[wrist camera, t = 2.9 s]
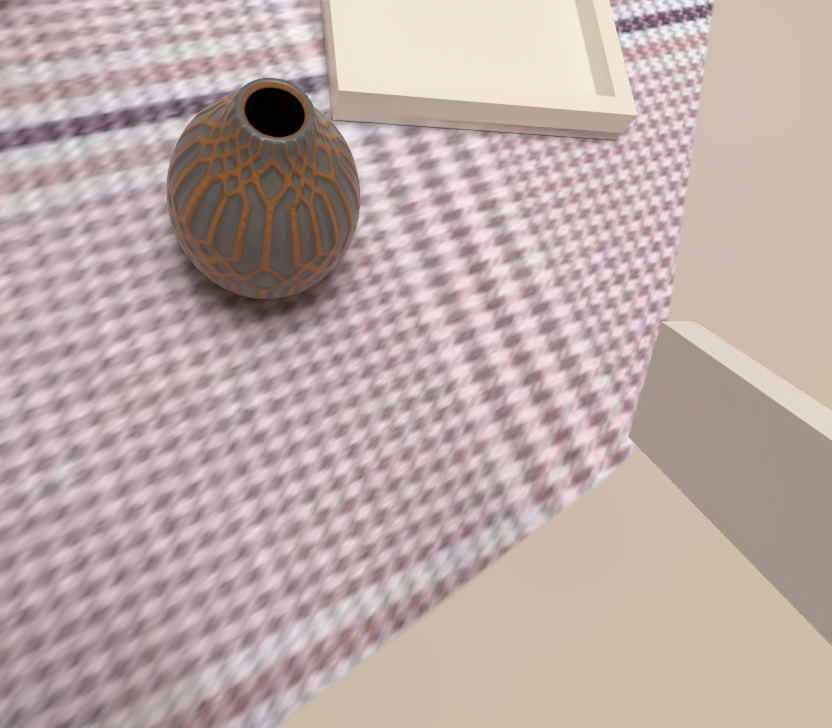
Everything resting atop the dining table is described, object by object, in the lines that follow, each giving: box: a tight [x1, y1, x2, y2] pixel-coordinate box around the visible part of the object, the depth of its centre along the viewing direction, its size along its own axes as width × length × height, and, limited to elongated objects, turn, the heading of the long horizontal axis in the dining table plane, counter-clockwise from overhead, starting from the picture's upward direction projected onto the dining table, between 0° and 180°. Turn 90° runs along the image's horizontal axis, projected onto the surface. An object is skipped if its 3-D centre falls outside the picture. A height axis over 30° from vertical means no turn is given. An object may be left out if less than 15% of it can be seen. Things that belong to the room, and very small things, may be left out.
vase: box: [167, 78, 360, 299], centre depth 24 cm, size 7×7×9 cm
